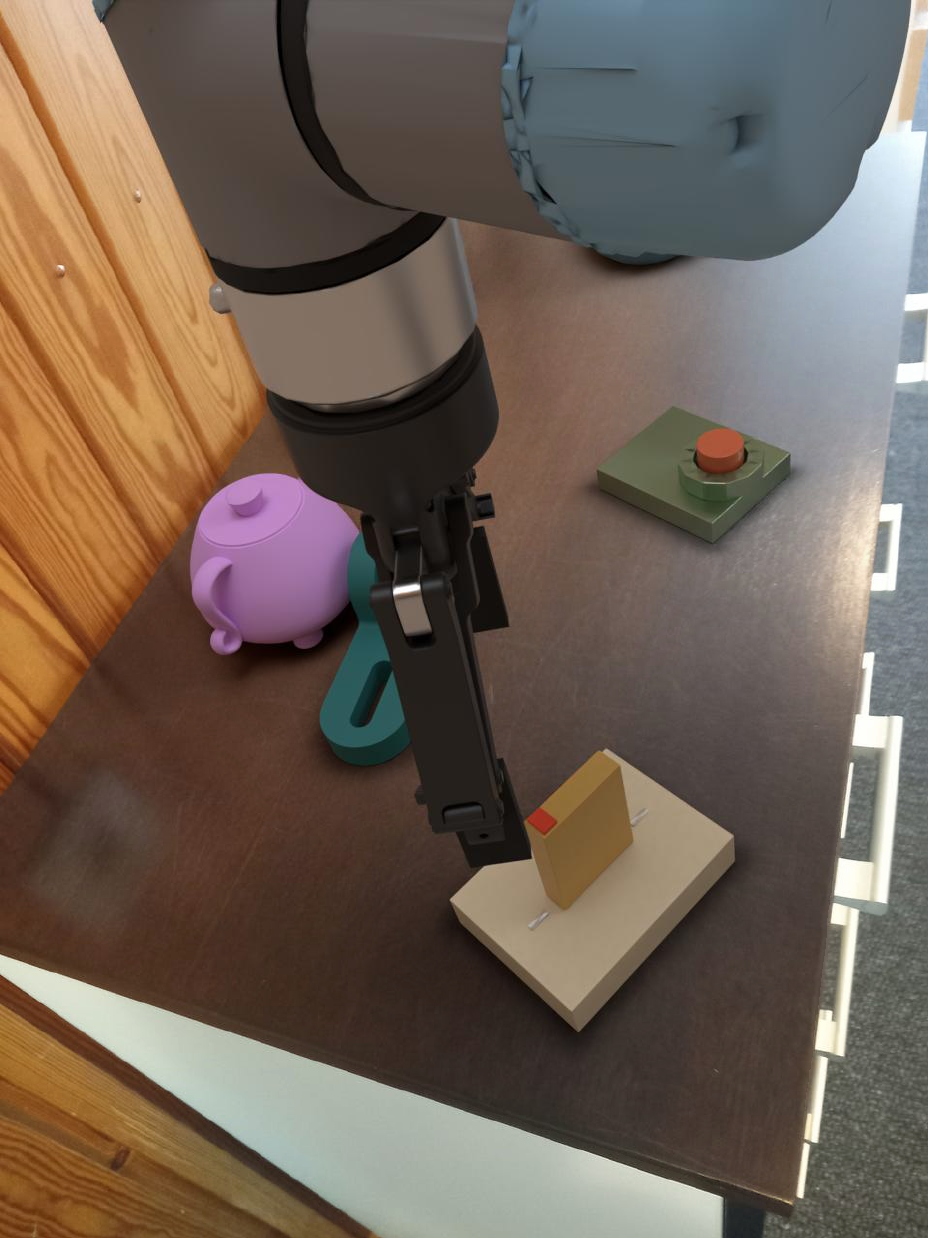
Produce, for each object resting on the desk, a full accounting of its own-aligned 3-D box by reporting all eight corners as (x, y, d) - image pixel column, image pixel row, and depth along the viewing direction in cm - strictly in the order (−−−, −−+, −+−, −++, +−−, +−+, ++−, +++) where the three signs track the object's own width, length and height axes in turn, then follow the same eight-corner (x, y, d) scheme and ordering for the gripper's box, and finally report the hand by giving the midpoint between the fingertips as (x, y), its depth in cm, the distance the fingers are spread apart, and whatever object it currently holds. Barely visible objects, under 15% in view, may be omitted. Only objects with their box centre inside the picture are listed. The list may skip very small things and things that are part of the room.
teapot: (292, 506, 95) (243, 394, 86) (426, 527, 89) (388, 409, 80) (169, 668, 84) (98, 559, 75) (312, 705, 78) (254, 591, 69)
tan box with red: (613, 825, 62) (598, 746, 56) (634, 840, 61) (620, 762, 55) (545, 894, 60) (521, 820, 54) (565, 911, 59) (543, 837, 53)
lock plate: (611, 773, 68) (605, 746, 66) (735, 861, 62) (734, 834, 60) (459, 922, 64) (448, 898, 61) (578, 1033, 57) (570, 1010, 55)
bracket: (395, 580, 86) (369, 510, 80) (472, 585, 83) (450, 513, 78) (315, 759, 75) (278, 692, 69) (400, 771, 72) (369, 702, 67)
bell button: (753, 455, 81) (753, 437, 80) (724, 480, 80) (724, 463, 79) (716, 440, 83) (715, 422, 82) (688, 464, 82) (686, 447, 81)
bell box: (793, 474, 84) (794, 435, 81) (715, 545, 81) (713, 507, 78) (674, 425, 91) (671, 388, 89) (599, 488, 88) (593, 451, 85)
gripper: (288, 205, 43) (412, 564, 58) (213, 651, 26) (417, 995, 41) (463, 164, 42) (543, 540, 57) (506, 598, 25) (604, 970, 40)
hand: (491, 730), depth 49 cm, fingers open, 13 cm apart
